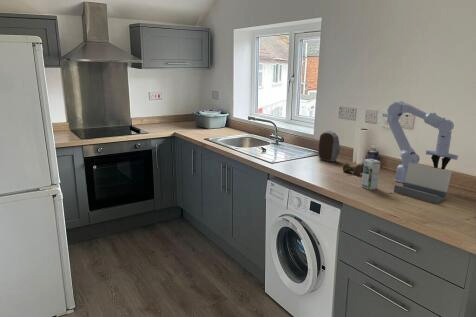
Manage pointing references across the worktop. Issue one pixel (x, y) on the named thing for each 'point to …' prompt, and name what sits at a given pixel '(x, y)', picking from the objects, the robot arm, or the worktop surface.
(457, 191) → the worktop surface
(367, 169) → the syrup box
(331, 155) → the grey rounded bag
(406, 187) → the cable duct
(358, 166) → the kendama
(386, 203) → the worktop surface
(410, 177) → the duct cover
